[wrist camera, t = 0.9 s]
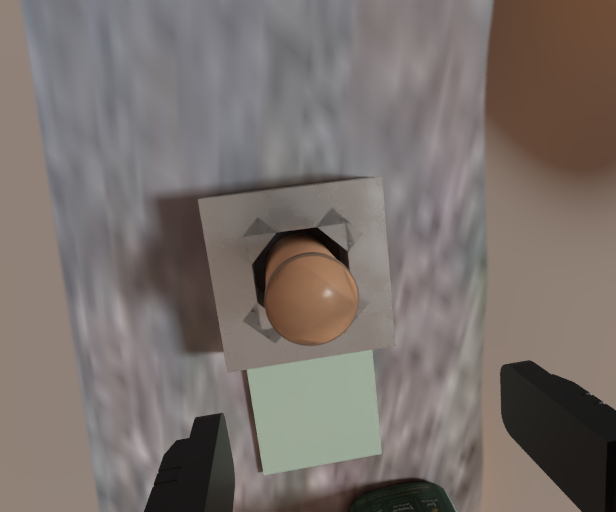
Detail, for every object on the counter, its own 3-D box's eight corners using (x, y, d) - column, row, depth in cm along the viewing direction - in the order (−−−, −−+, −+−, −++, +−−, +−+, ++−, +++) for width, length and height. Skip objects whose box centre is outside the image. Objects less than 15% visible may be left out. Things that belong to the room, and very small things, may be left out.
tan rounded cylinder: (259, 236, 30) (257, 261, 21) (328, 227, 31) (354, 248, 22) (268, 303, 31) (271, 352, 22) (335, 293, 32) (363, 338, 23)
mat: (245, 361, 32) (245, 363, 32) (370, 341, 33) (371, 343, 32) (263, 471, 34) (263, 475, 34) (380, 450, 35) (381, 453, 34)
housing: (205, 196, 29) (197, 199, 26) (368, 176, 30) (382, 176, 27) (231, 351, 32) (227, 372, 28) (381, 328, 33) (395, 346, 29)
